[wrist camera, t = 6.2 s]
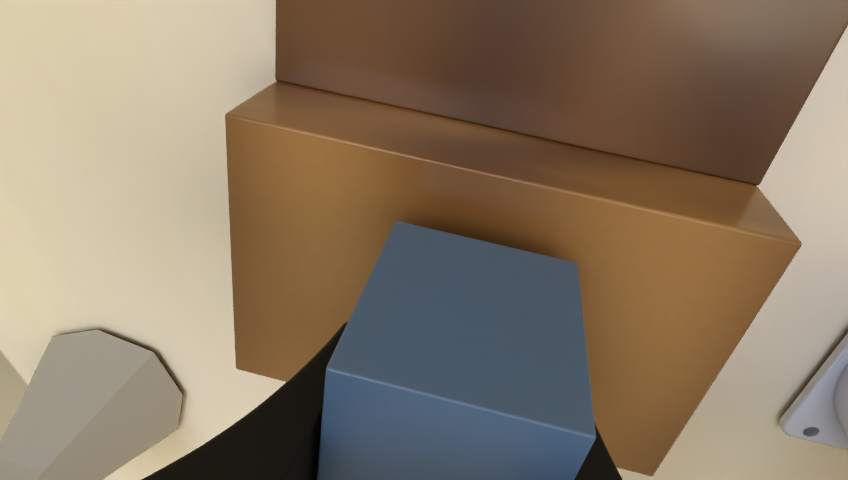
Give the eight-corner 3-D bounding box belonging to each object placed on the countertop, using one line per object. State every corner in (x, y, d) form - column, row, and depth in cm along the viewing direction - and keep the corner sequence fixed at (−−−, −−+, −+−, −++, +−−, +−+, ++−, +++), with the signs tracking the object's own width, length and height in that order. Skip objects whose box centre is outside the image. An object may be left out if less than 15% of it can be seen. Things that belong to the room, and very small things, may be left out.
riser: (1038, -427, 10) (1397, -671, 6) (630, 366, 21) (652, 478, 17) (318, -524, 11) (183, -792, 7) (292, 283, 22) (235, 369, 18)
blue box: (578, 261, 13) (597, 438, 8) (511, 436, 16) (501, 623, 12) (395, 219, 13) (325, 368, 9) (368, 399, 16) (308, 568, 12)
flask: (34, 315, 26) (-202, 503, 18) (170, 336, 25) (-14, 546, 17) (79, 416, 30) (-99, 610, 22) (199, 438, 29) (61, 651, 21)
